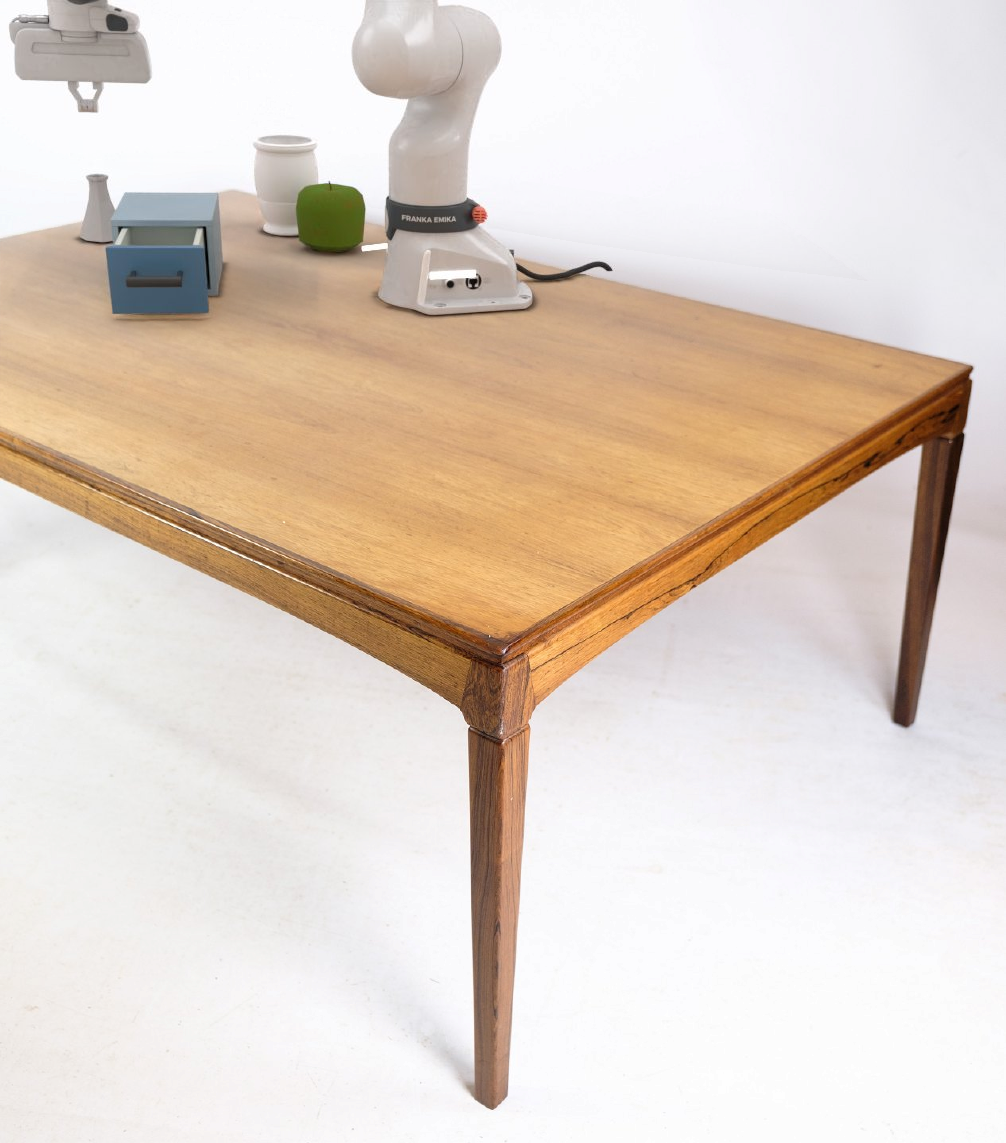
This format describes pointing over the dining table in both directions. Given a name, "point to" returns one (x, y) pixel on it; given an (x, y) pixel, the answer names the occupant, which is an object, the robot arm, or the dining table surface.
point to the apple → (330, 217)
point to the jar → (283, 178)
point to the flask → (98, 211)
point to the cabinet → (176, 220)
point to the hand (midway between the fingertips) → (88, 112)
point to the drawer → (159, 270)
